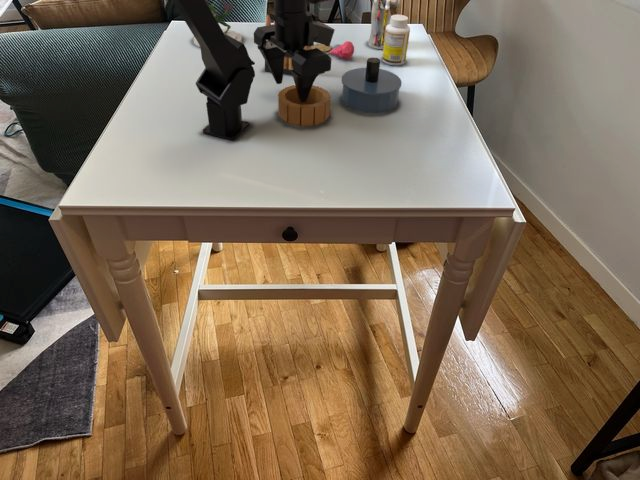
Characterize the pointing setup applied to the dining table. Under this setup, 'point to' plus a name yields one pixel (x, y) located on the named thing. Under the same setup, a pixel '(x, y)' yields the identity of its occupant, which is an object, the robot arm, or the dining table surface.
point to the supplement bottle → (396, 40)
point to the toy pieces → (338, 50)
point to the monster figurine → (223, 23)
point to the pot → (369, 101)
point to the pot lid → (371, 79)
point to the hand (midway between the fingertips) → (291, 92)
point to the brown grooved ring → (304, 106)
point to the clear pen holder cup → (381, 20)
